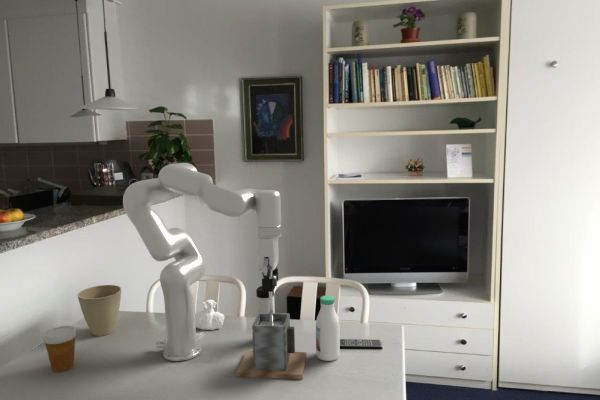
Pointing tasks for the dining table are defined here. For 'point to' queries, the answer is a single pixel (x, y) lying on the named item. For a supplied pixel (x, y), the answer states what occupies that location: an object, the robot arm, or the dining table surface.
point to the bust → (209, 317)
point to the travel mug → (264, 301)
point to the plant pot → (100, 308)
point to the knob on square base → (271, 322)
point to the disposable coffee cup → (60, 347)
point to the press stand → (272, 351)
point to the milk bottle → (327, 331)
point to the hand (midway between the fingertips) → (270, 285)
